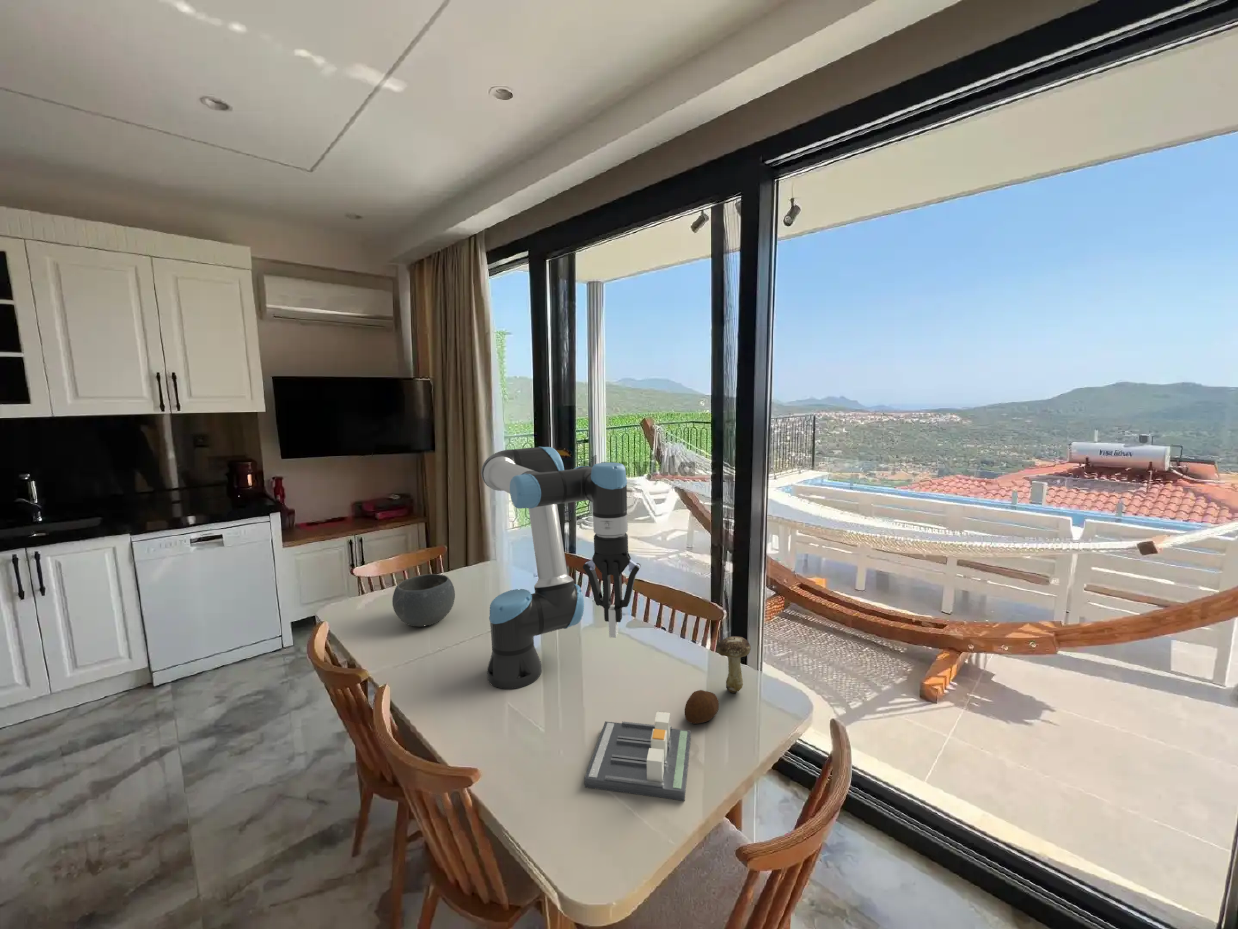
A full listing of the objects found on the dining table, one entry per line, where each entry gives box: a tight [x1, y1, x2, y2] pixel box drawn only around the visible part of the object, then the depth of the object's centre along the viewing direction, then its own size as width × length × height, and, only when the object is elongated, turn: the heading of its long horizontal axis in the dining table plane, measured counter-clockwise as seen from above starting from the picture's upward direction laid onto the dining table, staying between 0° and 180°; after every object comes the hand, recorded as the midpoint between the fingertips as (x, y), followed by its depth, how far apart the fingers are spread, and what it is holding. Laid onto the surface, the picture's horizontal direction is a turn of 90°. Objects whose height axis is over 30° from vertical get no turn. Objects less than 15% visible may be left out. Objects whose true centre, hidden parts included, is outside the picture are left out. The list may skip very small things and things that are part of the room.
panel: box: [584, 721, 692, 802], centre depth 108 cm, size 20×18×3 cm
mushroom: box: [716, 635, 752, 694], centre depth 131 cm, size 9×9×15 cm
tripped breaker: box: [651, 729, 667, 761], centre depth 107 cm, size 3×4×5 cm
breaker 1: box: [654, 711, 671, 741], centre depth 113 cm, size 3×4×4 cm
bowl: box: [392, 573, 456, 627], centre depth 178 cm, size 20×20×15 cm
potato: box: [684, 689, 720, 724], centre depth 122 cm, size 7×10×7 cm
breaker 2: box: [647, 748, 664, 783], centre depth 101 cm, size 3×4×4 cm
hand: (613, 634), depth 114 cm, fingers closed
